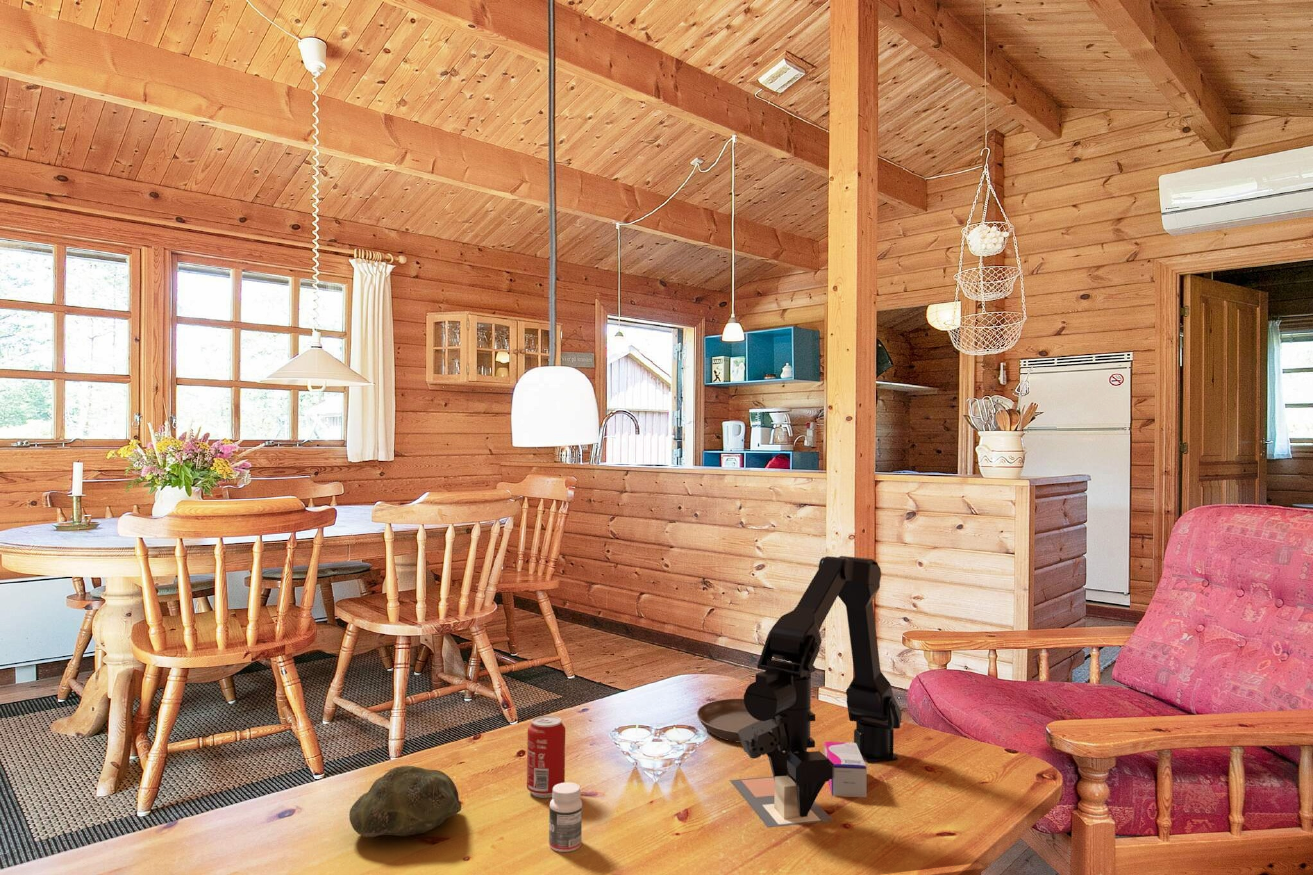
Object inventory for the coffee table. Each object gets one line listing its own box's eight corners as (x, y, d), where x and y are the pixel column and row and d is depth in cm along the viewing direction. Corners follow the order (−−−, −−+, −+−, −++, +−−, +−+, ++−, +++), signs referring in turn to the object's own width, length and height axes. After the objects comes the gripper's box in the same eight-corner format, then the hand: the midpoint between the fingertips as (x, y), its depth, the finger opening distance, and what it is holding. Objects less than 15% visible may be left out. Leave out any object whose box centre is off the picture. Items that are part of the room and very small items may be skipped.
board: (788, 778, 144) (788, 774, 144) (834, 824, 126) (834, 820, 126) (729, 783, 141) (729, 779, 141) (767, 831, 124) (767, 827, 124)
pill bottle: (549, 837, 121) (550, 781, 121) (581, 836, 121) (582, 780, 121) (548, 853, 116) (549, 794, 116) (581, 852, 117) (582, 793, 117)
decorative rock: (375, 816, 130) (374, 752, 132) (472, 812, 130) (471, 747, 131) (335, 853, 116) (334, 780, 117) (445, 848, 115) (443, 775, 116)
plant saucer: (804, 748, 159) (804, 731, 159) (698, 747, 159) (699, 730, 159) (788, 714, 180) (788, 699, 180) (695, 712, 180) (695, 697, 180)
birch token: (797, 805, 132) (797, 774, 132) (807, 816, 128) (808, 784, 128) (774, 807, 131) (774, 776, 131) (783, 819, 127) (784, 786, 127)
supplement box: (867, 802, 135) (856, 773, 147) (867, 766, 135) (857, 740, 146) (831, 800, 136) (824, 771, 147) (831, 765, 136) (824, 739, 147)
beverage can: (571, 788, 138) (572, 717, 139) (551, 802, 133) (552, 728, 133) (539, 781, 141) (541, 712, 141) (519, 795, 135) (520, 722, 136)
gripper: (725, 690, 137) (724, 783, 136) (765, 727, 118) (764, 835, 118) (787, 686, 139) (786, 778, 139) (836, 722, 121) (835, 828, 121)
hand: (791, 803), depth 129 cm, fingers open, 9 cm apart
